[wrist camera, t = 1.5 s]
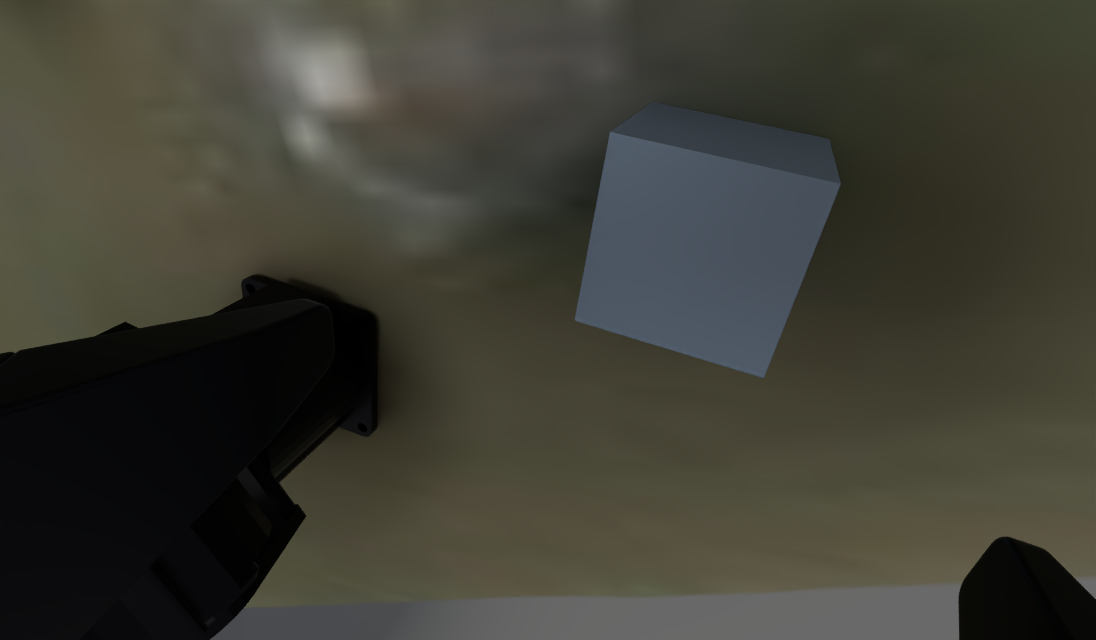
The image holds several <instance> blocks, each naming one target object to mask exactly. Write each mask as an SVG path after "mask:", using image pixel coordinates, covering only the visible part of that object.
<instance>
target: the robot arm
mask: <svg viewBox="0 0 1096 640" xmlns="http://www.w3.org/2000/svg"><path fill="white" fill-rule="evenodd" d="M241 287H242V294H243V298H242V299H240V300H238V301H236V302H235V303H233V304H231V305H229V306H227V307H225V308H223V309H222V310H220V311H218V312H216V313H214V314H212V315H209V316H204V317H198V318H193V319H187V320H182V321H176V322H171V323H165V324H160V325H155V326H149V327H144V328H137V327H135V326H133V325H131V324H129V323H127V322H124V323H122V324H120V325H117V326H115V327H113V328H111V329H109V330H107V331H105V332H103V333H101V334H99V335H97V336H94V337H89V338H84V339H78V340H73V341H67V342H62V343H56V344H51V345H45V346H40V347H34V348H29V349H23V350H20V351H18V352H16V353H14V352H6V353H1V354H0V640H210V639H211V638H212V637H214V636H215V635H216V634H217V633H218V632H220V631H221V630H222V629H223V628H224V627H225V626H226V625H227V624H228V623H229V622H230V621H232V620H233V619H234V618H235V617H236V616H237V615H238V613H239V612H240V611H241V610H242V609H243V608H244V607H245V606H246V604H247V603H248V602H249V600H250V599H251V598H252V596H253V595H254V594H255V592H256V591H257V589H258V588H259V586H260V585H261V583H262V582H263V580H264V579H265V577H266V576H267V574H268V573H269V571H270V570H271V568H272V567H273V565H274V564H275V562H276V561H277V559H278V558H279V556H280V555H281V553H282V552H283V550H284V549H285V547H286V546H287V544H288V543H289V541H290V540H291V538H292V537H293V535H294V534H295V532H296V531H297V529H298V528H299V526H300V525H301V523H302V522H303V520H304V519H305V517H306V515H305V513H304V512H303V511H302V509H301V508H300V506H299V505H298V504H296V505H295V504H294V503H293V501H292V500H291V499H290V497H289V496H288V494H287V493H286V492H285V490H284V489H283V488H282V486H281V485H280V484H279V482H280V481H281V480H282V479H284V478H285V477H286V476H287V475H288V474H289V473H290V472H291V471H292V470H293V469H294V468H295V467H296V466H297V465H299V464H300V463H301V462H302V461H303V460H304V459H305V458H306V457H307V456H308V455H309V454H310V453H311V452H312V451H314V450H315V449H316V448H317V447H318V446H319V445H320V444H321V443H322V442H323V441H324V440H325V439H326V438H327V437H328V436H330V435H331V434H332V433H333V432H334V431H335V430H336V429H337V428H338V427H341V428H343V429H346V430H349V431H351V432H354V433H356V434H359V435H362V436H365V437H367V436H370V435H371V434H372V433H373V432H374V431H375V430H376V428H377V339H376V321H375V319H374V317H373V316H372V315H371V314H370V313H368V312H366V311H364V310H361V309H358V308H354V307H351V306H348V305H345V304H342V303H339V302H336V301H333V300H330V299H327V298H324V297H323V296H320V295H317V294H314V293H311V292H308V291H305V290H302V289H299V288H296V287H293V286H290V285H287V284H284V283H281V282H278V281H272V280H269V279H266V278H263V277H260V276H257V275H252V276H249V277H247V278H245V279H243V281H242V284H241ZM254 287H255V288H254ZM361 321H362V322H363V323H364V324H365V326H364V325H363V324H362V323H361ZM959 640H1096V599H1095V598H1094V597H1093V596H1092V595H1091V594H1090V593H1089V592H1088V591H1087V590H1086V589H1085V588H1084V587H1083V586H1082V585H1081V584H1080V583H1079V582H1078V581H1077V580H1076V579H1075V578H1074V577H1073V576H1072V575H1071V574H1070V573H1069V572H1068V571H1067V570H1066V569H1065V568H1064V567H1063V566H1062V565H1061V564H1060V563H1059V562H1058V561H1057V560H1056V559H1055V558H1054V557H1053V556H1052V555H1051V554H1050V553H1049V552H1047V551H1046V550H1044V549H1042V548H1040V547H1038V546H1035V545H1032V544H1029V543H1026V542H1023V541H1020V540H1017V539H1014V538H1011V537H999V538H998V539H996V540H995V541H994V542H993V543H992V544H991V545H990V546H989V547H988V549H987V550H986V551H985V553H984V554H983V555H982V556H981V558H980V559H979V560H978V562H977V563H976V564H975V566H974V567H973V568H972V569H971V571H970V572H969V573H968V575H967V576H966V577H965V579H964V581H963V583H962V585H961V588H960V592H959Z"/></svg>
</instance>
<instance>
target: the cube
mask: <svg viewBox="0 0 1096 640" xmlns="http://www.w3.org/2000/svg"><path fill="white" fill-rule="evenodd" d="M840 185H841V182H840V178H839V174H838V171H837V167H836V163H835V159H834V155H833V151H832V147H831V144H830V140H829V139H828V138H823V137H818V136H814V135H809V134H804V133H799V132H795V131H790V130H785V129H780V128H775V127H771V126H766V125H761V124H756V123H752V122H747V121H742V120H737V119H732V118H728V117H723V116H718V115H713V114H708V113H704V112H699V111H694V110H689V109H685V108H680V107H675V106H670V105H665V104H661V103H656V102H652V103H650V104H649V105H647V106H646V107H644V108H643V109H642V110H640V111H639V112H637V113H636V114H635V115H633V116H632V117H630V118H629V119H628V120H626V121H625V122H623V123H622V124H620V125H619V126H618V127H616V128H615V129H613V130H612V131H611V132H610V134H609V140H608V145H607V150H606V156H605V161H604V166H603V172H602V177H601V182H600V188H599V193H598V198H597V204H596V209H595V214H594V220H593V225H592V230H591V236H590V241H589V246H588V252H587V257H586V262H585V268H584V273H583V278H582V284H581V289H580V294H579V300H578V305H577V310H576V316H575V321H577V322H581V323H584V324H587V325H591V326H594V327H597V328H600V329H604V330H607V331H610V332H614V333H617V334H620V335H623V336H627V337H630V338H633V339H637V340H640V341H643V342H646V343H650V344H653V345H656V346H660V347H663V348H666V349H669V350H673V351H676V352H679V353H683V354H686V355H689V356H692V357H696V358H699V359H702V360H706V361H709V362H712V363H715V364H719V365H722V366H725V367H729V368H732V369H735V370H738V371H742V372H745V373H748V374H752V375H755V376H758V377H761V378H764V376H765V374H766V371H767V369H768V366H769V364H770V361H771V359H772V356H773V354H774V351H775V349H776V346H777V344H778V341H779V339H780V336H781V334H782V331H783V329H784V326H785V324H786V321H787V319H788V316H789V313H790V311H791V308H792V306H793V303H794V301H795V298H796V296H797V293H798V291H799V288H800V286H801V283H802V281H803V278H804V276H805V273H806V271H807V268H808V266H809V263H810V261H811V258H812V256H813V253H814V251H815V248H816V246H817V243H818V240H819V238H820V235H821V233H822V230H823V228H824V225H825V223H826V220H827V218H828V215H829V213H830V210H831V208H832V205H833V203H834V200H835V198H836V195H837V193H838V190H839V188H840Z"/></svg>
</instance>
